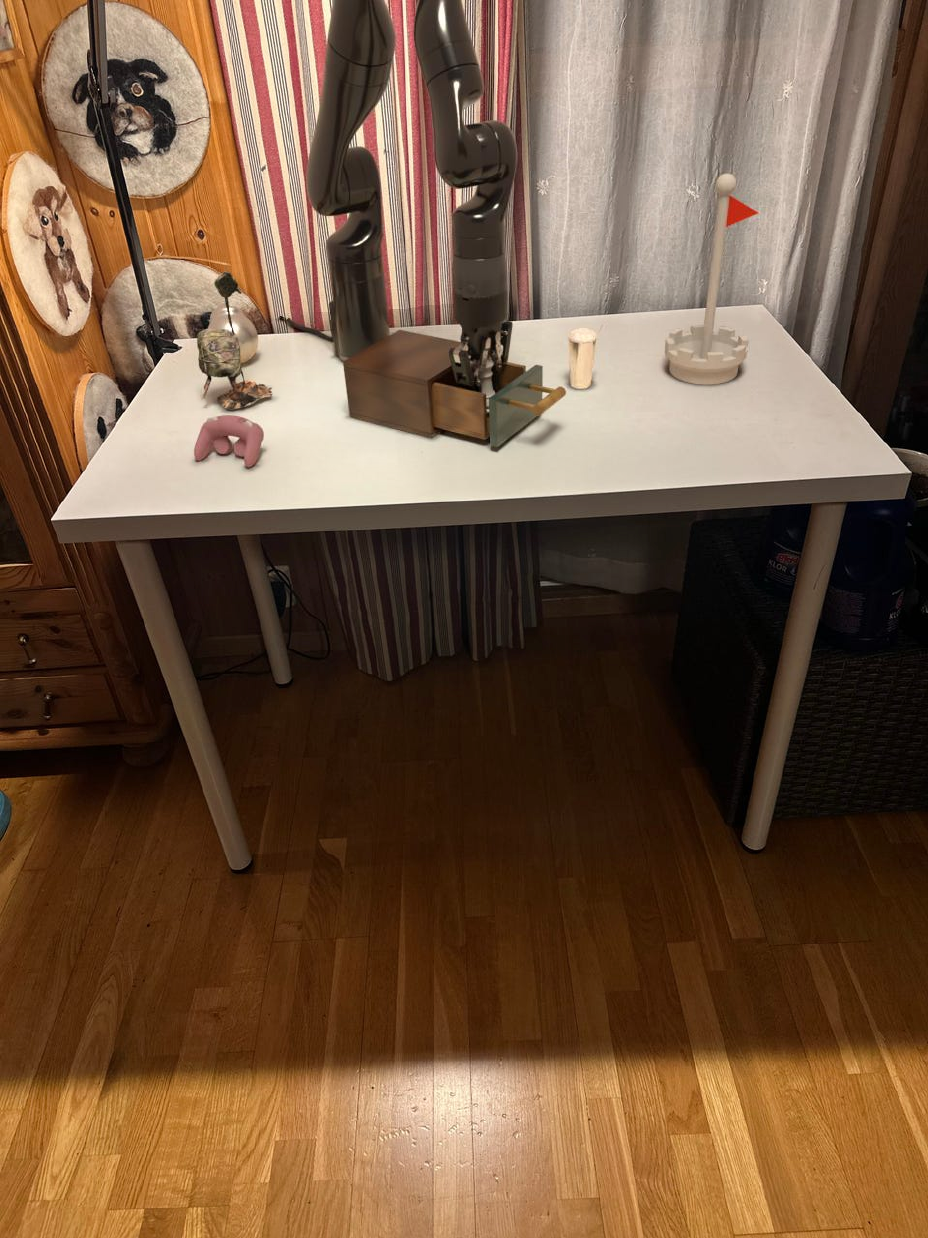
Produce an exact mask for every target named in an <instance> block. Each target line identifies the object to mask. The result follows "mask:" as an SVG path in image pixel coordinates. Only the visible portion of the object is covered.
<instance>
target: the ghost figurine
mask: <svg viewBox="0 0 928 1238" xmlns="http://www.w3.org/2000/svg"><path fill="white" fill-rule="evenodd" d="M229 309H230V310H229V311H230V316H231V322H232V326H233V329H234V333H235V334H236V336H237V337H238V341H239V342H240V356H241V359H240V361H241V365H242V364H245V363H246V362H248V361H250V360H251V359H252V357H254V355H255V354H256V353H257V350H258V347H259V334H258V331H257V329H256V327H255V325H254V323H253V322H252V321H251V320H250V319H249V318H248V317H247V316H245V314H244V312H243V310H242V309H241V308H239V307H238V306H235V305H229ZM209 317H210V318H209V321H210V322H209V324H208V327H207V329H218V330H221V329H226V330H227V329H229V330H230V331H231V327H230V323H229V319H228V312H227V308H226V304H225V303H221V304H219V305H218V306H217V307H216V308H215V309H213V310H212V311H211V313H210V316H209Z"/></svg>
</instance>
